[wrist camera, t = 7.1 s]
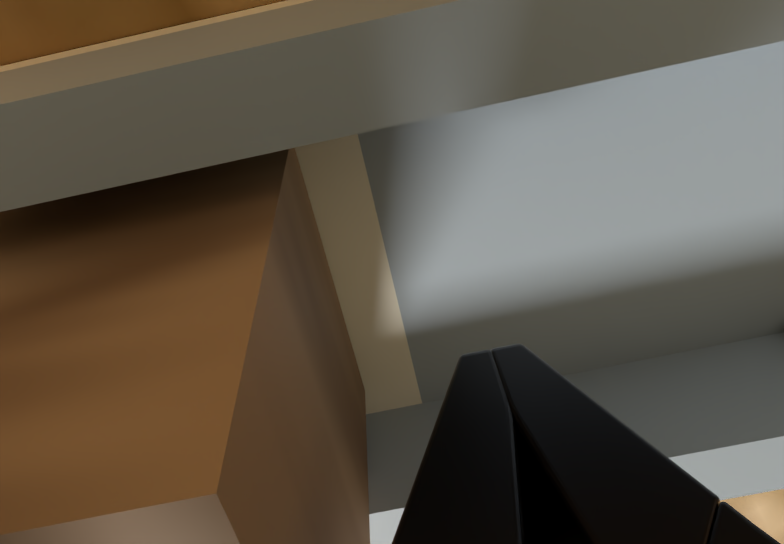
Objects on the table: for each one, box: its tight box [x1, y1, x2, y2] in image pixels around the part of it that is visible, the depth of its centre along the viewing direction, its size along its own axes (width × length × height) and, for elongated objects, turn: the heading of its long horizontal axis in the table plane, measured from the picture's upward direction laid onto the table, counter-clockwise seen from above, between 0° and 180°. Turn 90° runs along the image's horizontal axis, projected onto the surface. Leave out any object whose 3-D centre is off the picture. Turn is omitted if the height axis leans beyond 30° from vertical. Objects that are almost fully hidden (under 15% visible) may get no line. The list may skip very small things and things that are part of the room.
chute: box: [0, 0, 784, 544], centre depth 11 cm, size 18×9×3 cm, turn 102°
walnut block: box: [0, 148, 370, 544], centre depth 9 cm, size 6×5×7 cm
